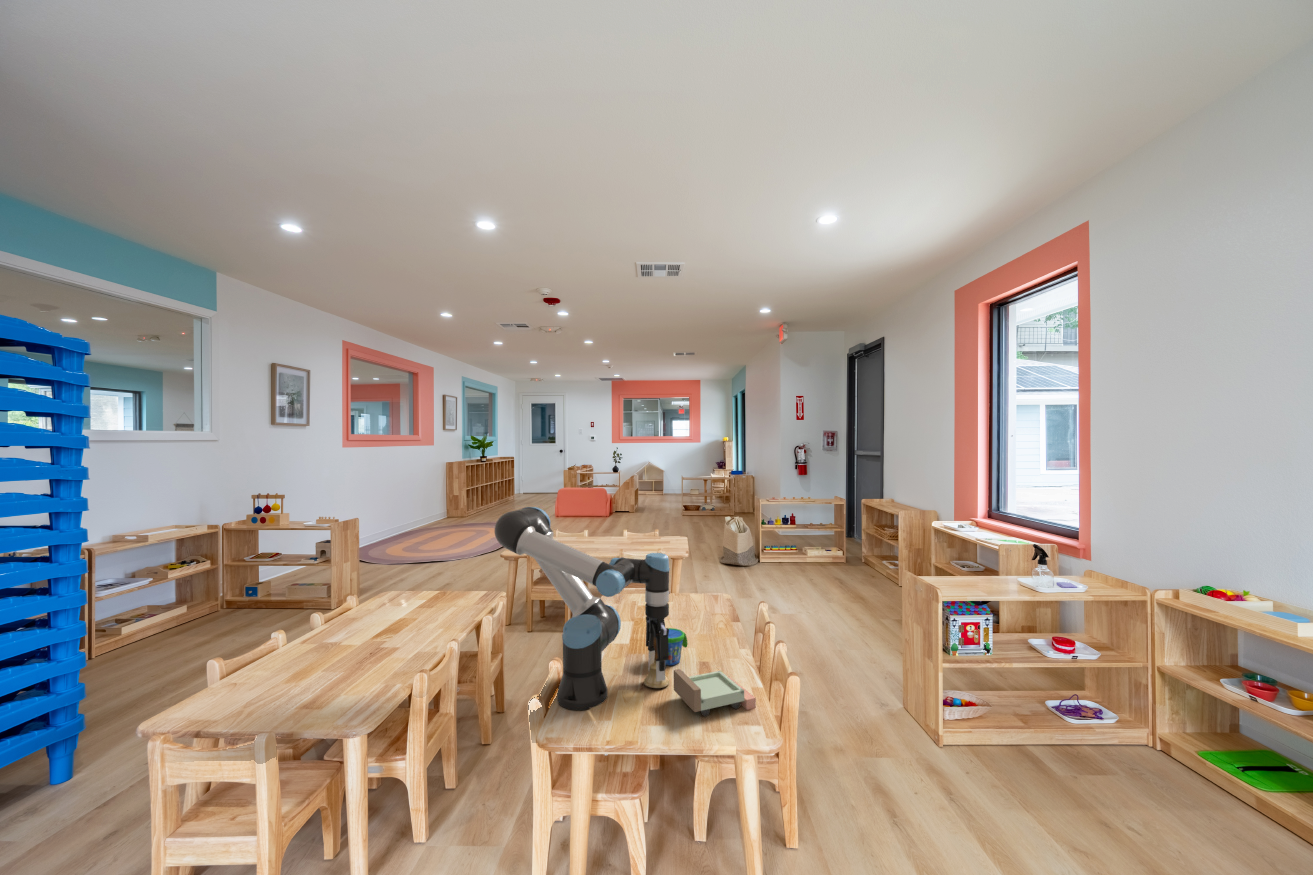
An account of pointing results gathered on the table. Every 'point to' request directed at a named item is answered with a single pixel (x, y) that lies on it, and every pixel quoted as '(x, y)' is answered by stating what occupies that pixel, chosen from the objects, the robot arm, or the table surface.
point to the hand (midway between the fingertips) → (656, 675)
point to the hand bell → (651, 677)
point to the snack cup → (675, 645)
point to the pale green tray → (707, 691)
